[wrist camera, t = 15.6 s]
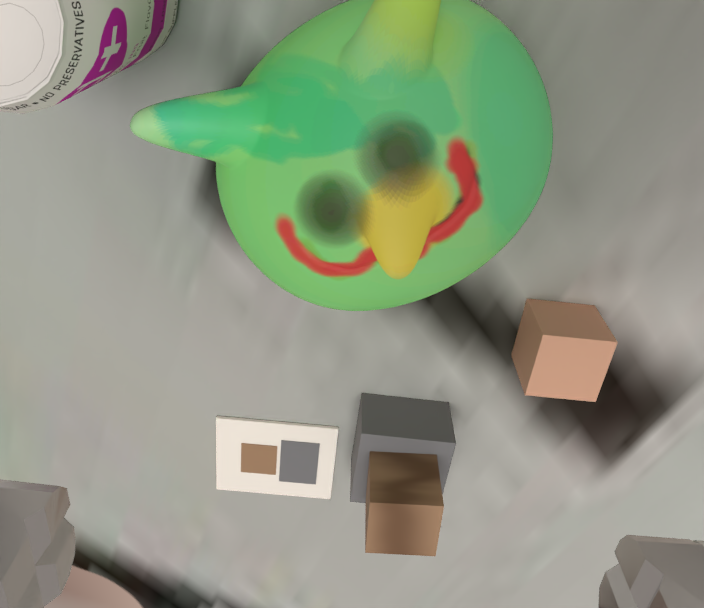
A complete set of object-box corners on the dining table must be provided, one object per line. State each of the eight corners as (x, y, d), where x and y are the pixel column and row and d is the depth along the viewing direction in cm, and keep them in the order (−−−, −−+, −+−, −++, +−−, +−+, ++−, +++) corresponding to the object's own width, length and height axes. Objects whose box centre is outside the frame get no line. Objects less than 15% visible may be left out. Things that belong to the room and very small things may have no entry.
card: (338, 426, 52) (338, 430, 52) (330, 496, 56) (330, 499, 56) (216, 415, 52) (215, 418, 52) (217, 486, 56) (216, 490, 56)
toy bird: (328, 287, 46) (313, 419, 33) (177, 82, 39) (86, 148, 26) (561, 158, 41) (649, 255, 28) (435, -104, 34) (476, -132, 21)
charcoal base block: (448, 400, 51) (456, 443, 47) (432, 465, 55) (438, 510, 50) (361, 391, 51) (361, 433, 47) (351, 456, 54) (350, 501, 50)
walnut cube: (436, 454, 47) (443, 506, 43) (429, 502, 50) (435, 556, 45) (369, 451, 47) (369, 502, 43) (365, 499, 50) (365, 552, 45)
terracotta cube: (594, 304, 46) (617, 342, 42) (575, 361, 49) (595, 401, 45) (526, 297, 46) (543, 334, 42) (511, 354, 49) (525, 395, 44)
